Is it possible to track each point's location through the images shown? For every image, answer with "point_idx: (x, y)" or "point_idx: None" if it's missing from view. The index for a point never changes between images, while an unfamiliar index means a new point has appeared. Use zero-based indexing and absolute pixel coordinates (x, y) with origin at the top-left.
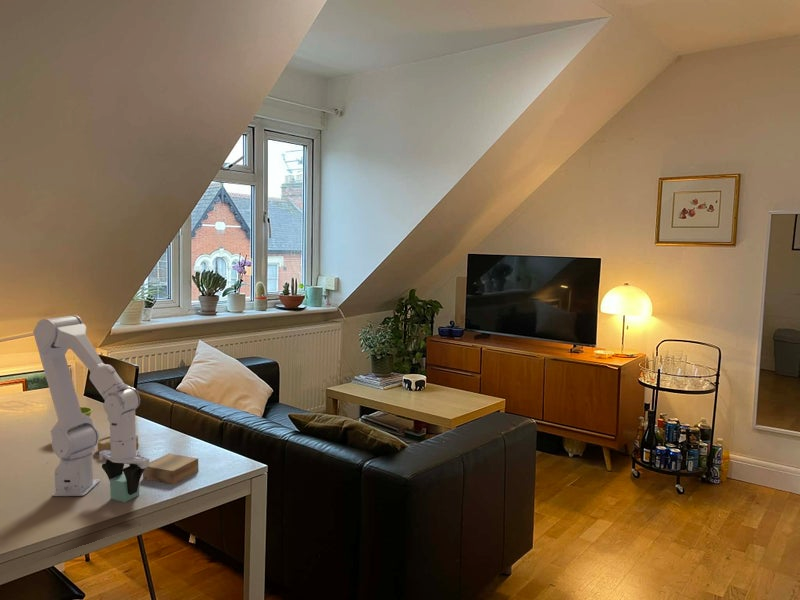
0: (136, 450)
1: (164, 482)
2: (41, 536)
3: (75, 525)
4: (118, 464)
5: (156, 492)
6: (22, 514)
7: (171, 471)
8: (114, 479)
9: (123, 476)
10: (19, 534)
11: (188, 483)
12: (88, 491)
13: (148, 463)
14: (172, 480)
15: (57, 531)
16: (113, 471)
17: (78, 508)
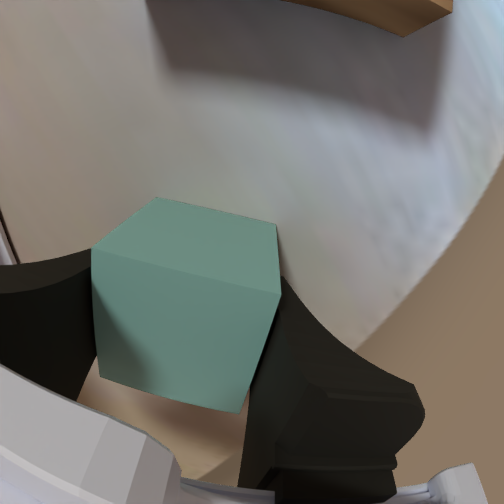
0: (14, 463)
1: (332, 10)
2: None
3: (202, 458)
4: (34, 372)
5: (365, 167)
6: None
7: (435, 6)
8: (130, 380)
9: (146, 330)
10: None
11: (470, 29)
12: (12, 254)
13: (474, 492)
14: (411, 29)
15: (183, 472)
16: (69, 380)
17: (104, 381)
